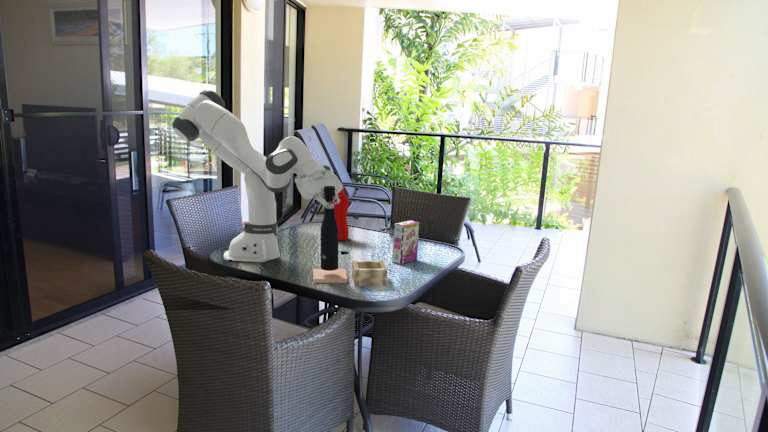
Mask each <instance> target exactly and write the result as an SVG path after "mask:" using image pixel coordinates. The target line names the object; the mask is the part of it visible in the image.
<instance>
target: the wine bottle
mask: <svg viewBox="0 0 768 432" xmlns="http://www.w3.org/2000/svg"><path fill="white" fill-rule="evenodd" d="M333 196H335V187H334V186H325V187H324V196H323V197H325V200H327V201H328V202H329V205H328V206H325V207H324V210H323V211H324V212H323V213H324V214H323V218H322V221H321V225H320V269H322V270H327V271H332V270H337V269H339V241H338V225H337V221H336V218H335V208H334V203H333Z"/></svg>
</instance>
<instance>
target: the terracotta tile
mask: <svg viewBox="0 0 768 432" xmlns="http://www.w3.org/2000/svg"><path fill="white" fill-rule="evenodd" d="M312 277H313V284H348V274H347V271H346V269H345V268H338V269H337V270H332V271H327V270H322V269H321V268H313V269H312Z"/></svg>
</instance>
